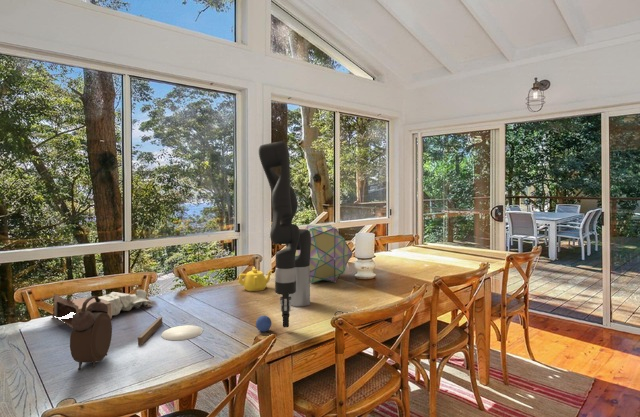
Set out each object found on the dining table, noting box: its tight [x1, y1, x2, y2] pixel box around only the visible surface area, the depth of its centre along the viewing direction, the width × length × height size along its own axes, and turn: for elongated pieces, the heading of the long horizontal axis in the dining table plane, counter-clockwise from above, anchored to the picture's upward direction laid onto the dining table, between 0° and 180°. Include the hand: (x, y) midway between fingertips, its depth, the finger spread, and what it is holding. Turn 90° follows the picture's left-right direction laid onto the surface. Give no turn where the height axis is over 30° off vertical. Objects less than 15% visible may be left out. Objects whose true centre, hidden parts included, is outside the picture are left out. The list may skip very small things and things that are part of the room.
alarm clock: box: [69, 295, 113, 371], centre depth 118 cm, size 15×7×20 cm, turn 5°
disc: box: [161, 324, 203, 342], centre depth 143 cm, size 14×14×1 cm
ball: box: [255, 315, 272, 332], centre depth 144 cm, size 6×6×6 cm
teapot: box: [238, 266, 274, 292], centre depth 202 cm, size 14×13×10 cm
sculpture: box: [295, 224, 354, 285], centre depth 219 cm, size 30×30×30 cm
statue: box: [51, 289, 153, 329], centre depth 163 cm, size 24×35×10 cm
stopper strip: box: [137, 316, 163, 346], centre depth 142 cm, size 1×20×2 cm, turn 3°
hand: (285, 326), depth 145 cm, fingers closed
